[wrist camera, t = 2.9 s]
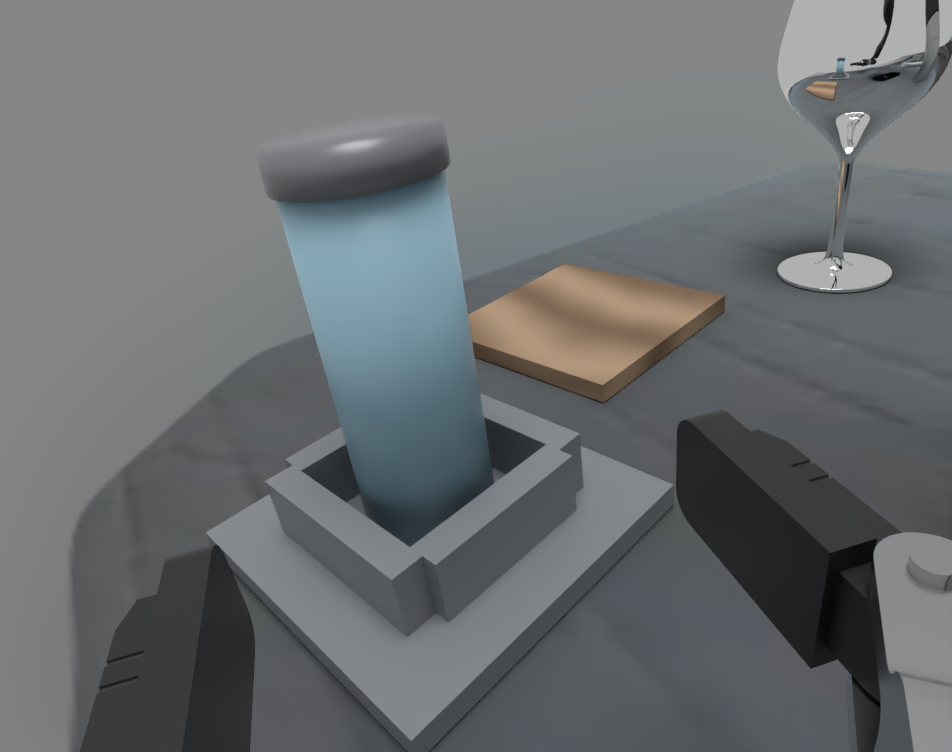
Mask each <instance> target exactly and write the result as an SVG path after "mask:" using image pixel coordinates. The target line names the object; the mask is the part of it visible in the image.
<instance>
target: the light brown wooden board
mask: <svg viewBox="0 0 952 752" xmlns="http://www.w3.org/2000/svg"><path fill="white" fill-rule="evenodd" d="M724 307H725V295H721V294H715V293H710V292H705V291H700V290H695V289H690V288H684V287H679V286H674V285H669V284H664V283H659V282H654V281H648V280H643V279H638V278H633V277H628V276H623V275H617V274H612V273H607V272H602V271H597V270H592V269H587V268H581V267H576V266H571V265H566V264H563V265H562V266H560V267H558V268H556V269H554V270H552V271H550V272H548V273H546V274H545V275H543V276H541V277H539V278H537V279H535V280H533V281H531V282H529V283H528V284H526V285H524V286H522V287H520V288H518V289H516V290H514V291H512V292H511V293H509V294H507V295H505V296H503V297H501V298H499V299H497V300H496V301H494V302H492V303H490V304H488V305H486V306H484V307H482V308H480V309H479V310H477V311H475V312H473V313H471V314H469V315H468V319H469V325H470V332H471V338H472V344H473V351H474V357H476V358H479V359H482V360H485V361H488V362H491V363H493V364H496V365H499V366H502V367H505V368H507V369H510V370H513V371H516V372H519V373H522V374H524V375H527V376H530V377H533V378H536V379H538V380H541V381H544V382H547V383H550V384H552V385H555V386H558V387H561V388H564V389H567V390H569V391H572V392H575V393H578V394H581V395H583V396H586V397H589V398H592V399H595V400H597V401H600V402H603V403H604V402H605V401H606V400H608V399H609V398H610V397H612V396H613V395H614V394H616V393H617V392H618V391H620V390H621V389H622V388H624V387H625V386H626V385H627V384H629V383H630V382H631V381H633V380H634V379H635V378H637V377H638V376H639V375H641V374H642V373H643V372H645V371H646V370H647V369H649V368H650V367H651V366H653V365H654V364H655V363H656V362H658V361H659V360H660V359H662V358H663V357H664V356H666V355H667V354H668V353H670V352H671V351H672V350H674V349H675V348H676V347H678V346H679V345H680V344H681V343H683V342H684V341H685V340H687V339H688V338H689V337H691V336H692V335H693V334H695V333H696V332H697V331H699V330H700V329H701V328H703V327H704V326H705V325H706V324H708V323H709V322H710V321H712V320H713V319H714V318H716V317H717V316H718V315H720V314H721V313H722V312H724Z"/></svg>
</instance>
